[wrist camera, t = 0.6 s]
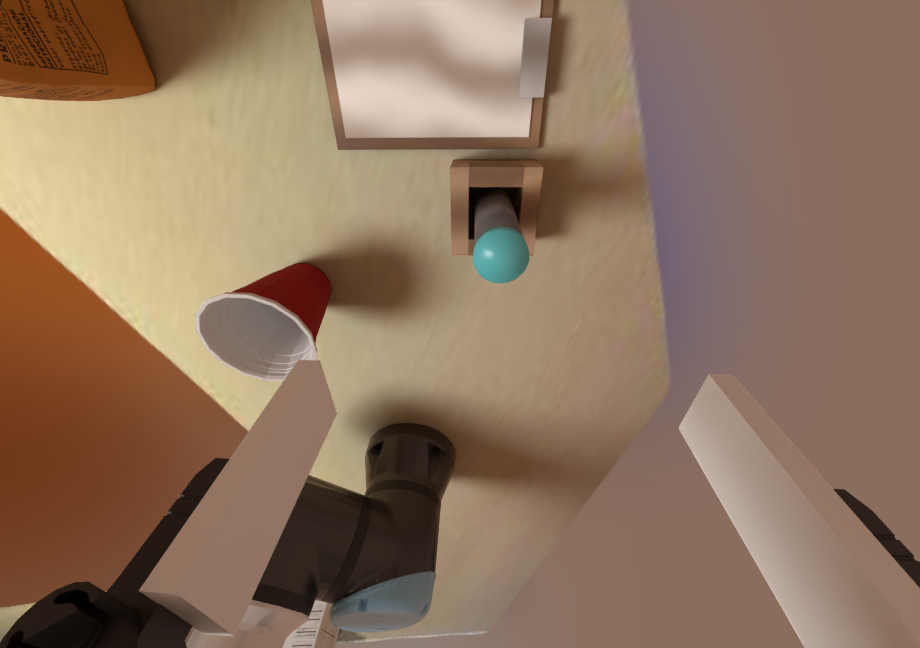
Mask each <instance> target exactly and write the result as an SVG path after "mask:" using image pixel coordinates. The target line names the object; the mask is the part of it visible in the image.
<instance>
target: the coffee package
mask: <svg viewBox="0 0 920 648" xmlns="http://www.w3.org/2000/svg"><path fill="white" fill-rule="evenodd" d="M154 88H155V81H154V76H153V74H152V72H151V70H150V68H149V65H148V63H147V60H146V57H145V54H144V52H143V49H142V47H141V44H140V42H139V40H138V38H137V36H136V33H135V31H134V28H133V26H132V24H131V22H130V19H129V17H128V14H127V11H126V8H125V5H124V3H123V1H122V0H0V96H4V97H15V98H27V99H42V100H61V101H101V100H110V99H119V98H125V97H130V96H135V95H140V94H143V93H147V92H150V91H153V90H154Z"/></svg>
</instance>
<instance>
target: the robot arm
mask: <svg viewBox="0 0 920 648" xmlns="http://www.w3.org/2000/svg"><path fill="white" fill-rule="evenodd" d="M336 414H337V413H336V410H335V406H334V403H333V400H332V397H331V394H330V391H329V388H328V385H327V382H326V379H325V376H324V372H323V369H322V366H321V363H320V361H316V360H298V361H297V363H296V364H295V365H294V367H293V368H292V370H291V371H290V373H289V374H288V376H287V377H286V378H285V380H284V381H283V383H282V384H281V386H280V387H279V389H278V390H277V392H276V393H275V394H274V396H273V397H272V399H271V400H270V402H269V403H268V405H267V406H266V407H265V409H264V410H263V412H262V413H261V415H260V416H259V418H258V419H257V420H256V422H255V423H254V425H253V426H252V428H251V429H250V431H249V432H248V433H247V435H246V436H245V438H244V439H243V441H242V442H241V444H240V445H239V446H238V448H237V449H236V451H235V452H234V454H233V455H232V457H231V458H230V459H222V458H215V459H214V460H213V461H212V462H210V463H209V464H208V465H207V466H206V467H204V468H203V469H202V470H201V471H200V472H198V473H197V474H196V475H195V476H194V478H193V479H192V480H191V482H190V483H189V484H188V486H187V487H186V488H185V490H184V491H183V492H182V494H181V497H180V498H179V499H177V500H176V502H175V503H174V504H173V506H172V507H171V509H170V510H169V511H168V515H167V516H164V518H163V519H162V520H161V521H160V523H159V524H158V525H157V527H156V528H155V530H154V531H153V532H152V533H151V535H150V536H149V537H148V539H147V540H146V541H145V543H144V544H143V546H142V547H141V548H140V550H139V551H138V552H137V553H136V555H135V556H134V557H133V559H132V560H131V561H130V563H129V564H128V565H127V567H126V568H125V569H124V571H123V572H122V574H121V575H120V576H119V577H118V579H117V580H116V581H115V583H114V584H113V585H112V586H111V587H110V588H109V589H108V591H107V592H105V591H103V590H101V589H100V588H98V587H96V586H95V585H93V584H91V583H90V582H75V583H72V584H69V585H67V586H64V587H62V588H60V589H57V590H55V591H54V592H52V593H50V594H49V595H47V596H46V597H44V598H43V599H41V600H40V601H38V602H37V603H36V604H34V605H33V606H32V607H31V608H30V609H29V610H28V611H27V612H26V613H24V614H23V615H22V616H21V617H20V618H19V619H18V620H17V621H16V622H15V624H14V625H13V626H12V627H11V629H10V630H9V631H8V632H7V634H6V635H5V636H4V637H3V639H2V641H1V643H0V648H282V647H283V644H284V642H285V640H286V638H287V637H288V636H289V635H290V634H291V633H292V632H293V631H295V630H296V629H297V628H299V627H300V626H301V625H303V624H304V623H305V622H307V621H308V619H309V616H310V613H311V611H312V608H313V605H314V602H315V600H318V601H323V602H326V603H330V604H332V607H331V609H330V622H331V624H332V625H333V626H335V627H339V628H340V629H342V630H347V631H354V632H383V631H392V630H398V629H402V628H406V627H409V626H412V625H414V624H416V623H418V622H419V621H421V620H422V619H423V618H424V617H425V616H426V614H427V613H428V611H429V609H430V605H431V599H432V593H433V587H434V580H435V578H436V573H435V568H436V556H437V544H438V532H439V520H440V508H441V500H442V498H443V495H444V493H445V490H446V488H447V486H448V483H449V481H450V479H451V476H452V474H453V472H454V467H455V450H454V447H453V445H452V444H451V442H450V441H449V440H448V439H447V438H446V437H445V436H444V435H442V434H441V433H439V432H437V431H435V430H433V429H431V428H428V427H425V426H420V425H414V424H398V425H392V426H388V427H385V428H383V429H381V430H379V431H378V432H376V433H375V434H374V435H373V436H372V438H371V439H370V442H369V445H368V448H367V451H366V456H365V466H366V493H365V496H364V495H361V494H359V493H356V492H353V491H351V490H348V489H345V488H342V487H340V486H337V485H334V484H332V483H329V482H326V481H323V480H321V479H318V478H315V477H312V476H310V475H309V473H310V471H311V469H312V466H313V464H314V462H315V460H316V458H317V455H318V453H319V451H320V449H321V447H322V444H323V442H324V440H325V438H326V436H327V434H328V431H329V429H330V427H331V425H332V423H333V420H334V418H335V416H336ZM679 430H680V432H681V433H682V435H683V437H684V439H685V441H686V442H687V444H688V446H689V447H690V449H691V451H692V453H693V454H694V456H695V458H696V460H697V461H698V463H699V465H700V467H701V468H702V470H703V472H704V474H705V475H706V477H707V479H708V480H709V482H710V484H711V486H712V487H713V489H714V491H715V493H716V494H717V496H718V498H719V500H720V501H721V503H722V505H723V506H724V508H725V510H726V512H727V513H728V515H729V517H730V519H731V520H732V522H733V524H734V526H735V527H736V529H737V531H738V532H739V534H740V536H741V538H742V539H743V541H744V543H745V545H746V547H747V548H748V550H749V552H750V554H751V555H752V557H753V559H754V560H755V562H756V564H757V566H758V567H759V569H760V571H761V573H762V574H763V576H764V578H765V580H766V581H767V583H768V585H769V587H770V588H771V590H772V592H773V594H774V595H775V597H776V599H777V600H778V602H779V604H780V606H781V607H782V609H783V611H784V613H785V614H786V616H787V618H788V620H789V621H790V623H791V625H792V627H793V628H794V630H795V632H796V633H797V635H798V637H799V639H800V640H801V642H802V644H803V646H804V647H805V648H920V562H918V561H916V560H915V559H914V556H913V554H912V553H911V552H910V551H909V550H908V549H907V548H906V547H905V546H904V545H903V544H902V543H901V541H900V540H896V539H895V537H894V536H895V535H894V534H893V533H892V532H891V531H890V530H889V528H887V526H886V525H885V524H884V523H883V522H882V521H881V520H880V519H879V518H878V517H877V516H876V514H875V513H874V512H873V511H872V510H871V509H869V508H868V507H867V506H865V505H864V504H863V503H861V502H860V501H859V500H857V499H856V498H855V497H853V496H852V495H851V494H849V493H848V492H847V491H846V490H842V489H832V487H831V486H830V485H829V484H828V483H827V482H826V481H825V480H824V478H823V477H822V476H821V475H820V474H819V473H818V471H817V470H816V469H815V468H814V467H813V466H812V465H811V464H810V462H809V461H808V460H807V459H806V458H805V457H804V455H803V454H802V453H801V452H800V451H799V450H798V449H797V447H796V446H795V445H794V444H793V443H792V442H791V441H790V439H789V438H788V437H787V436H786V435H785V434H784V433H783V432H782V430H781V429H780V428H779V427H778V426H777V425H776V423H775V422H774V421H773V420H772V419H771V418H770V417H769V415H768V414H767V413H766V412H765V411H764V410H763V409H762V407H761V406H760V405H759V404H758V403H757V402H756V401H755V399H753V397H752V396H751V395H750V394H749V393H748V391H747V390H746V389H745V388H744V387H743V386H742V385H741V384H740V382H739V381H738V380H737V379H736V378H735V377H734V376H733V375H719V374H709V375H708V377H707V378H706V380H705V382H704V384H703V386H702V387H701V389H700V391H699V393H698V394H697V396H696V398H695V400H694V401H693V403H692V405H691V407H690V408H689V410H688V412H687V414H686V416H685V417H684V419H683V421H682V423H681V424H680V426H679ZM191 627H194V628H195V630H194V632H193V633H192V635H191V637H190V639H189V641H188V643H187V645H186V643H185V638H186V637H187V635H188V633H189V631H190V629H191Z"/></svg>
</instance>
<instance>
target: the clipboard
mask: <svg viewBox="0 0 920 648" xmlns="http://www.w3.org/2000/svg"><path fill="white" fill-rule="evenodd" d="M311 5H312V10H313V15H314V21H315V26H316V32H317V37H318V43H319V48H320V53H321V59H322V64H323V70H324V75H325V81H326V86H327V92H328V97H329V102H330V108H331V113H332V119H333V124H334V130H335V135H336V140H337V146H338V150H383V149H538V145H539V136H540V127H541V117H542V108H543V99H544V90H545V80H546V71H547V62H548V53H549V43H550V34H551V25H552V15H553V6H554V0H311Z"/></svg>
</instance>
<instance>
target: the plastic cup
mask: <svg viewBox="0 0 920 648" xmlns="http://www.w3.org/2000/svg"><path fill="white" fill-rule="evenodd" d="M330 295H331V286H330V281H329V280H328V278H327V277H326V275H325V274H324V273H323V272H322V271H321V270H319V269H318V268H317V267H314V266H312V265H309V264H302V263H298V264H293V265H291V266H288V267H286V268H284V269H282V270H279V271H277V272H274V273H271V274H269V275H267V276H265V277H263V278H261V279H259V280H257V281H255V282H253V283H251V284H249V285H247V286H245V287H243V288H240V289H237V290H235V291H233V292H226V293H224V294H221V295H218V296H216V297H213V298H210V299H208V300H206V301H204V302H203V304H202V305H201V307H200V308H199V309H198V311H197V312H196V314H195V323H196V332H197V334H198V335H199V337H200V339H201V341H202V342H203V344H204V346H205V347H206V349H207V350H209V351H210V352H211V353H212V354H213V355H214V356H215V357H216V358H217V359H219V360H220V361H221V362H222V363H223V364H225V365H227V366H229V367H231V368H232V369H234V370H236V371H238V372H240V373H242V374H244V375H247V376H251V377H254V378H258V379H261V380H265V381H284V380H285V378H286V377H287V376H288V374H289V373H290V371H291V370H292V368H293V367H294V365H295V364H296V363H297V361H298V360H315V357H316V353H317V348H316V345H315V342H316V336H317V334H318V331H319V328H320V325H321V323H322V320H323V317H324V314H325V311H326V307H327V304H328V302H329V299H330Z"/></svg>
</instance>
